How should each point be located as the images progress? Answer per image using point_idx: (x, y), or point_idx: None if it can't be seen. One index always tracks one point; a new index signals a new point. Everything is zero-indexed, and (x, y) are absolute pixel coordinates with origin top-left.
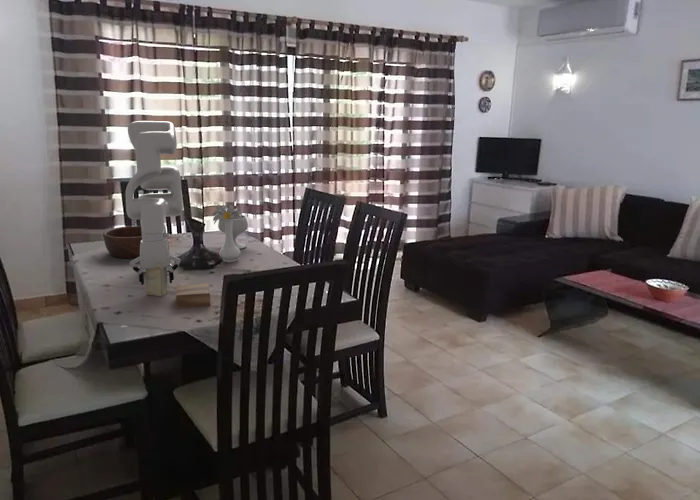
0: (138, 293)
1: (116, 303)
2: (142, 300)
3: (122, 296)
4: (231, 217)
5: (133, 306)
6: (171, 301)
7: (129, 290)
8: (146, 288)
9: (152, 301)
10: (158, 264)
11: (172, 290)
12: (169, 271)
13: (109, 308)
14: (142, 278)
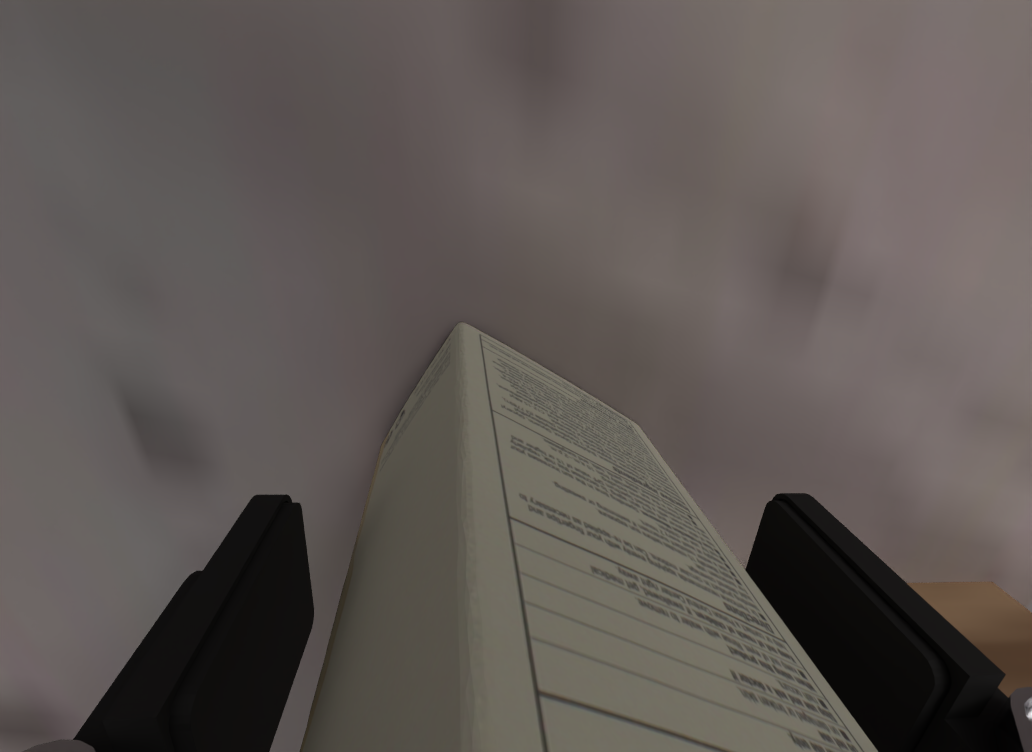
0: (256, 364)
1: (79, 639)
2: None
3: (52, 439)
4: None
5: (294, 719)
6: None
7: (51, 171)
8: (368, 495)
9: None
10: None
11: (712, 347)
12: (923, 716)
13: (63, 736)
14: (258, 745)
